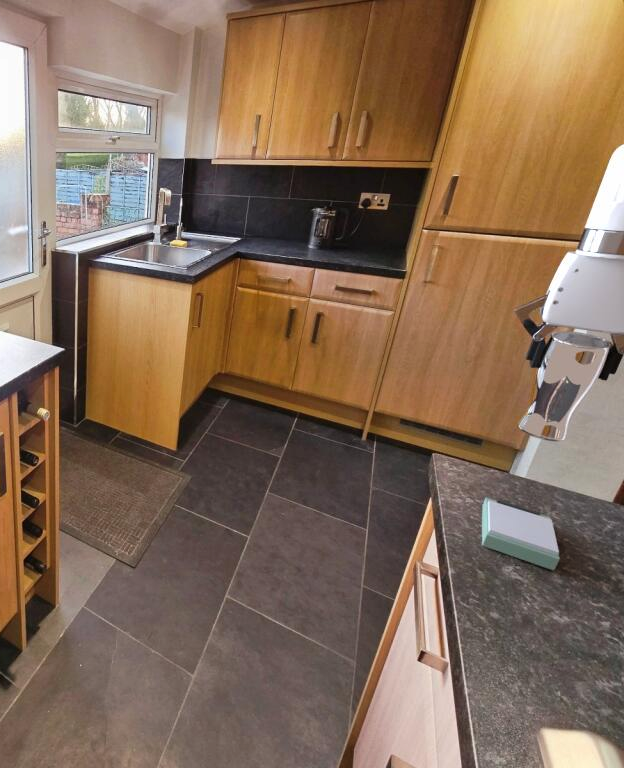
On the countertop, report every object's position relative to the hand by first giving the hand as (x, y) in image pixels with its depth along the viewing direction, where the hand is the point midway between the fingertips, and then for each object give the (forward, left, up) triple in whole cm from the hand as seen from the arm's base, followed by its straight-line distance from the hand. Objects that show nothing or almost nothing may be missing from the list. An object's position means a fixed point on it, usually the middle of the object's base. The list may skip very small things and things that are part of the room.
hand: (566, 370), depth 72 cm
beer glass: (0, 0, -10) cm, 10 cm away
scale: (+6, +9, -23) cm, 25 cm away
